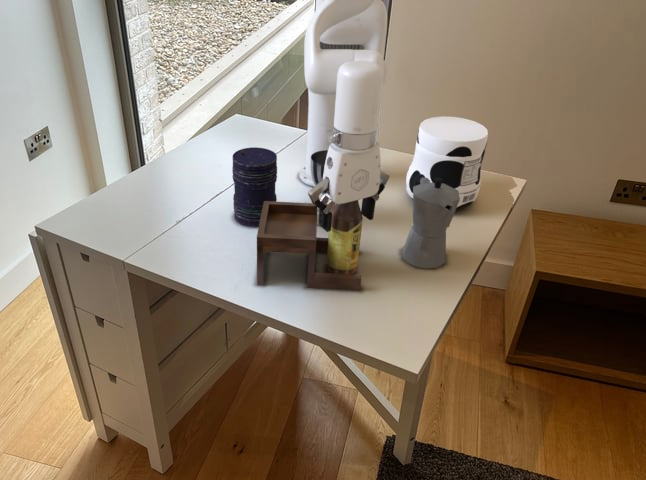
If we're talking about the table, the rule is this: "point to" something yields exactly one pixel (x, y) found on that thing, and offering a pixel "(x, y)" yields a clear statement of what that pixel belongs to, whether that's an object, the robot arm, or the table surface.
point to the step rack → (297, 242)
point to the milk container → (450, 155)
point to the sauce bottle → (344, 238)
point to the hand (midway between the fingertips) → (346, 222)
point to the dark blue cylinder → (253, 183)
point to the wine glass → (318, 170)
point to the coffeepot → (430, 222)
